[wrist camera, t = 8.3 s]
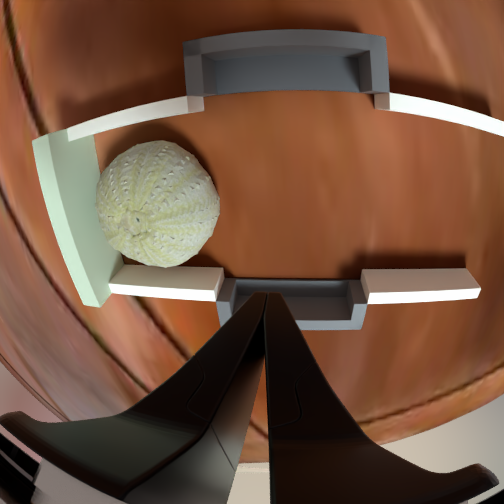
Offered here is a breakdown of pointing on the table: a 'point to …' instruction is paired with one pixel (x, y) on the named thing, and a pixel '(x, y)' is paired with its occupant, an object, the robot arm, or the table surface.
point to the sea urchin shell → (157, 204)
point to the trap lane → (292, 78)
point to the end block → (77, 212)
